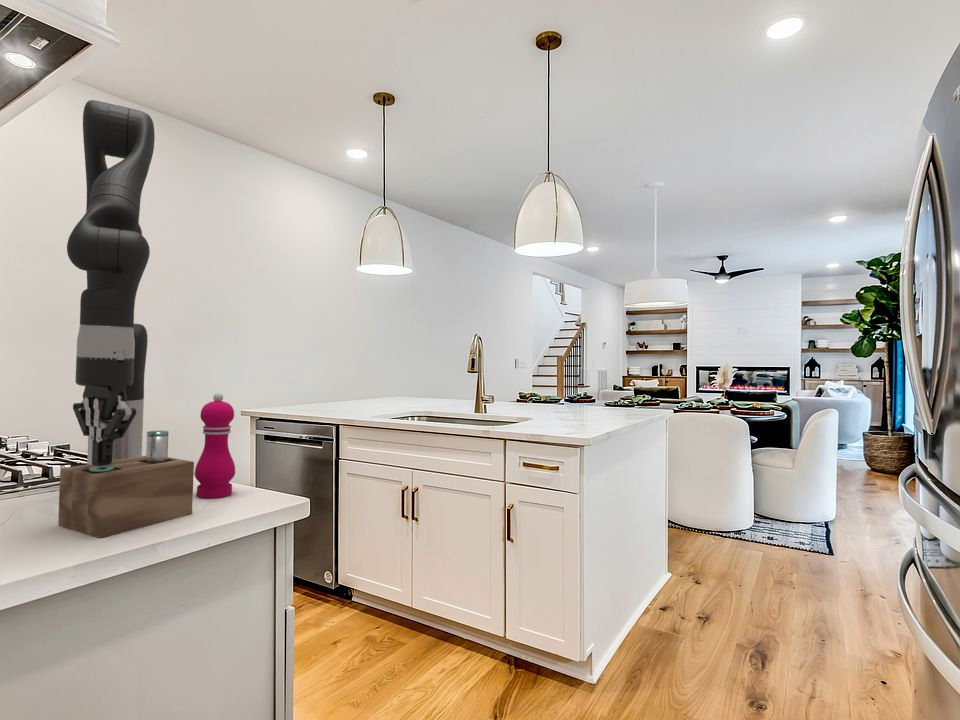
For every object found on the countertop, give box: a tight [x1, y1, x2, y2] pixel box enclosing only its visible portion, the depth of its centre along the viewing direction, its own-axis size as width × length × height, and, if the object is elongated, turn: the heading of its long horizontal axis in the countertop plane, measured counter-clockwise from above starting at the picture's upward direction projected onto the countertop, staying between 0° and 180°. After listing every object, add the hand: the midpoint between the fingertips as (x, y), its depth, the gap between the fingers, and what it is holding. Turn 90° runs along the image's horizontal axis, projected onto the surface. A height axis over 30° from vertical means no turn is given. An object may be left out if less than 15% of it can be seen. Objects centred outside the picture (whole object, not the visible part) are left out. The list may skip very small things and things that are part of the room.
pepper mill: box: [194, 392, 236, 499], centre depth 107 cm, size 7×7×20 cm
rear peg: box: [145, 430, 169, 464], centre depth 94 cm, size 3×3×8 cm
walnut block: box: [57, 455, 195, 539], centre depth 90 cm, size 11×15×9 cm
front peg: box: [89, 466, 114, 474], centre depth 85 cm, size 3×3×8 cm
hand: (102, 464), depth 85 cm, fingers closed
